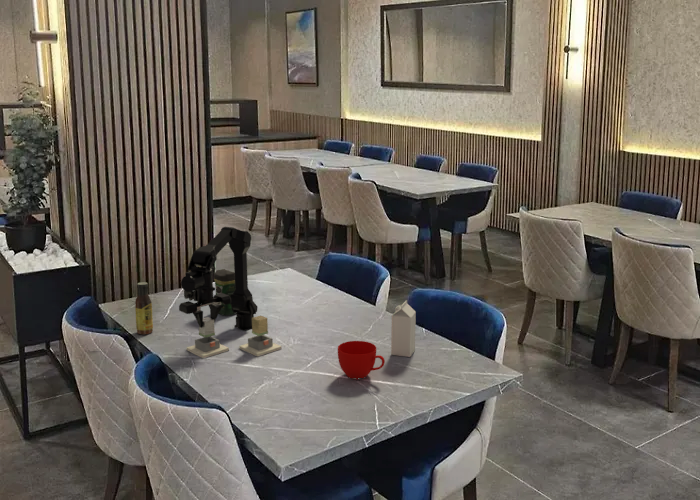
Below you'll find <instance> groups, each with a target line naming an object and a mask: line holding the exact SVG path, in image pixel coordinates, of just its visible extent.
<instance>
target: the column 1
mask: <svg viewBox="0 0 700 500" xmlns="http://www.w3.org/2000/svg"><path fill="white" fill-rule="evenodd" d="M198 335H199V336H201V337H202V338H203V337H205V338H206V337H210V336H211V337H214V336H216V332H215V322H214V319H212V318H210V317H209V316H206V317H203V324H202V328H200V327H199V326H198Z"/></svg>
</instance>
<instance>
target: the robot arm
mask: <svg viewBox="0 0 700 500" xmlns="http://www.w3.org/2000/svg"><path fill="white" fill-rule="evenodd" d="M251 241H252V235H251V233H250V232H249V231H248V230H240V229H237V228H236V227H231V226H223V227H222V228H221V229H220V231H219V232H218V233H217V234H216V235H215V236H214V237H213V238H212V239H211V240H210V241H209V242H208V243H207V244H205V245H204V246H200V247H198V248H197V249H195V250H194V251H193V252H192V254H191V258H190V260H189V264H188V266H187V269H186V270H187V271H186V272H185V276H183V277H182V279H181V281H180V285H181V288H182V289H183V296H184V299H185V300H188V299H189V300H188V301H184V302H180V303H179V306H178V309H179V310H178V311H179V312H181V313H184V314H186V315H190V314H193V316H194V318H195V319H196V322H197V325H198V328H199V327H200V328H202V324H203V318H204V311H203V310H201V309H202V307H206V306H208V308H209V310H210V311H209V314H210V315H209V316H210V317H209V318H212V319H214V323H215V321H216V320H217V317H218V316H219V312H220V310H221V308H223V305H221V302H222V303H223V304H224V305H226V304H231V307H232V311H233V313H236V315H235V316H236V317H235V325H234V327H235V328H236V329H239V330H241V331H247V330H250V329H251V330H252V318H253V317H255V315H256V314H257V313H258V308H259V307H258V305H257V304H256V303H255V302H254V300H253V299H254V298H253V294H252V292H251V291H250V290H249V284H248V281H249V280H248V259H247V258H248V257H247V256H248V254H247V252H248V251H249V249H250V248H251V244H252V243H251ZM226 245H228V247H229V249H230V250H231V251H232V253H233V266H234V267H233V268H234V271H233V272H234V273H235V290H234V292H233V294H231V296H229V295H226V294H223V293H221V294H217V295H216V294H214V291H216V287H214V286H213V285H214V284H213V282H214V279H213V271H215V270H216V268H215V266H214V264H215V263H216V261H217V260H218V256H217V255H218V254H219V253H220V252H221V251H222V250H223V249H224V248H225V246H226ZM192 301H194V302H192Z"/></svg>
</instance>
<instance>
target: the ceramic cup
mask: <svg viewBox="0 0 700 500" xmlns="http://www.w3.org/2000/svg"><path fill="white" fill-rule="evenodd" d="M376 359H380V360H381V364H380V366H377V367H374V366H375V364H376ZM337 360H338V364H339V367H340V369H341V371H342V372H343V373H344V374H345V375H346V377H347V378H349V377H350V378H349V379H351V378H356V379H355V380H359V379H358V378H363V379H365V378H366V377H368V375H369V374H370V373H371V372H373V371H378V370H380V369H381V368H383V367H384V366H385V363H386V360H385V357H383V356H382V355H381V354H380V355H379V354H378V355H377V346H376V345H375V344H374V343H373V342H369V341H365V340H349V341H346V342H342V343H341V344H339V345H337ZM364 377H365V378H364Z"/></svg>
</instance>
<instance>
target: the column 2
mask: <svg viewBox="0 0 700 500" xmlns="http://www.w3.org/2000/svg"><path fill="white" fill-rule="evenodd" d="M268 323H269V322H268V317H266V316H264V315H257V316H254V317H253V318H252V328H251V334H253V335H254V336H261V335H265V336H266V335H268V334H269V330H268V329H269V327H268Z"/></svg>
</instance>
